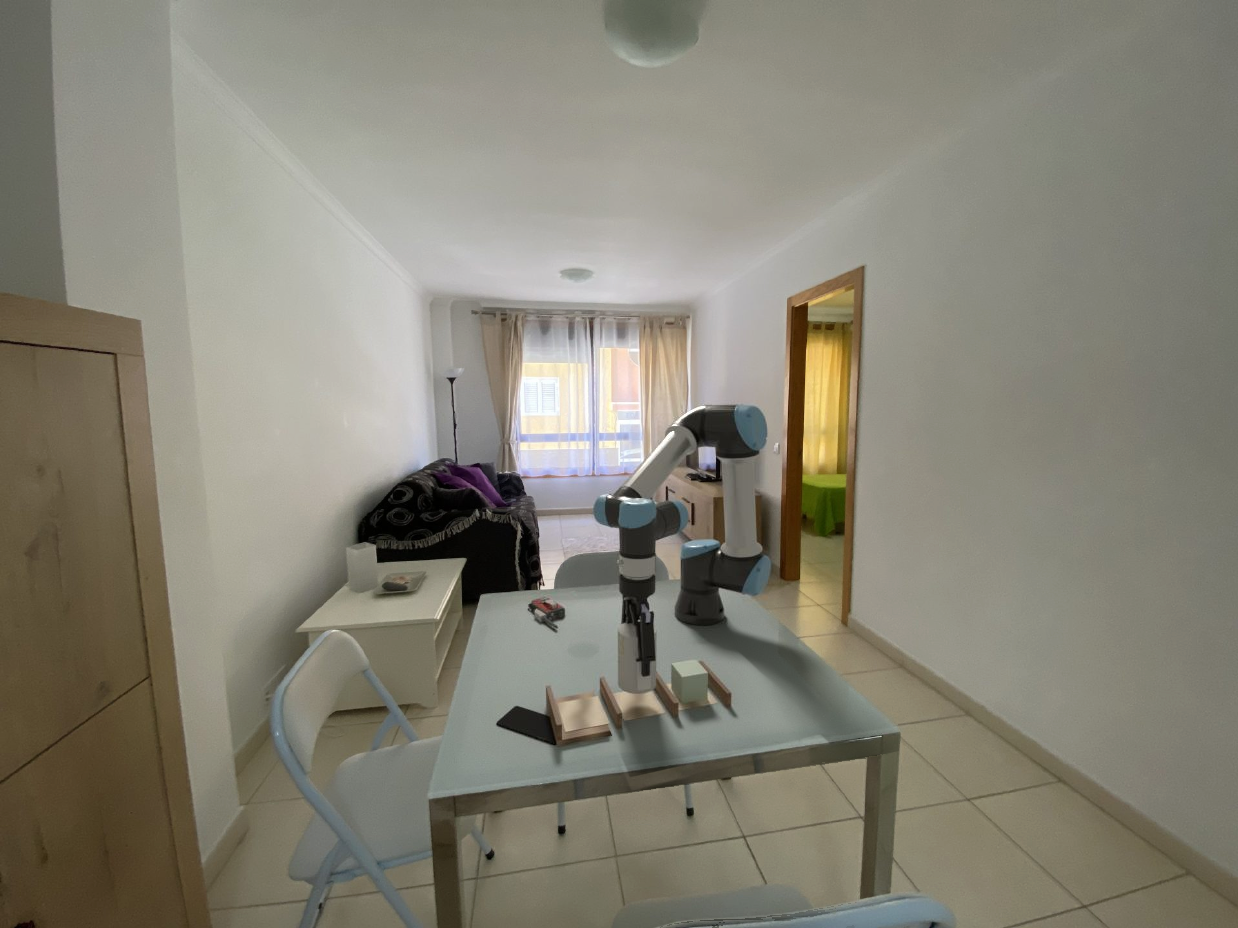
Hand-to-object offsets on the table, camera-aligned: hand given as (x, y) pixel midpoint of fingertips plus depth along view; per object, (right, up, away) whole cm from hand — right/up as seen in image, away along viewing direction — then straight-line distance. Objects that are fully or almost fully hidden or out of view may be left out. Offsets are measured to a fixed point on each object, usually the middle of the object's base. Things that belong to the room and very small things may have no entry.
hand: (637, 677), depth 108 cm
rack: (0, -7, +1) cm, 7 cm away
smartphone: (-21, -9, -4) cm, 23 cm away
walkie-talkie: (-25, -2, +48) cm, 54 cm away
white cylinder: (0, -2, 0) cm, 1 cm away
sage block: (+12, -5, +4) cm, 13 cm away
